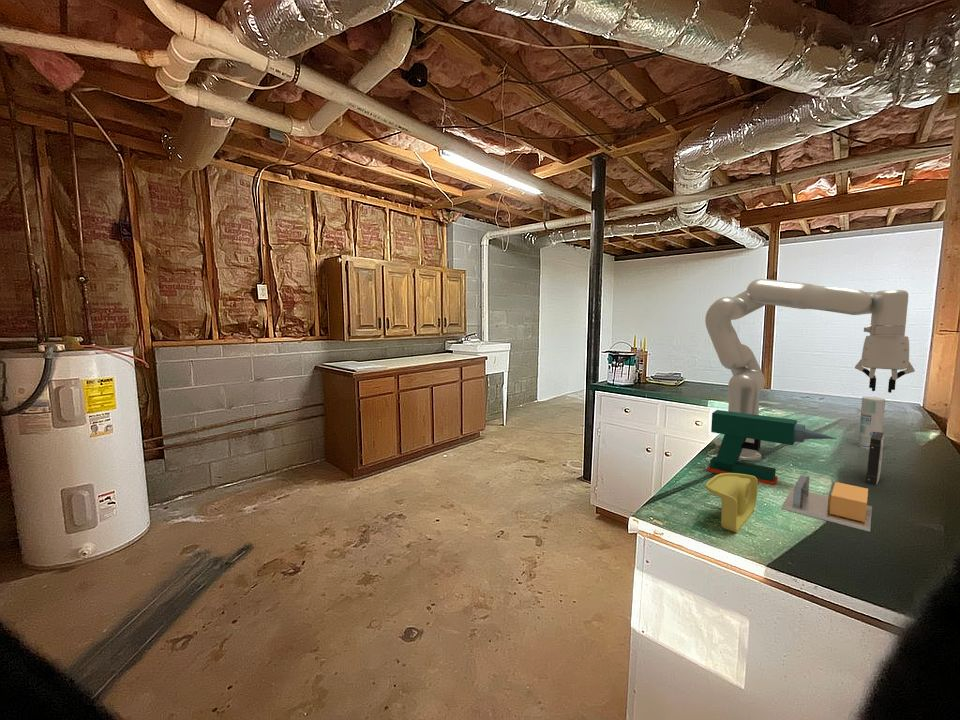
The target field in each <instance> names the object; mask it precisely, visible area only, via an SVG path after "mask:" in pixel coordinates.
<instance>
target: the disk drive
mask: <svg viewBox="0 0 960 720" xmlns="http://www.w3.org/2000/svg"><path fill="white" fill-rule="evenodd" d="M884 437H885V433H884V432H882V433H881V432H873V434H872V436H871V440H870V448H869V450H868V451H869V452H868V458H867V459H868V461H867V470H866V478H865V484H867V485H870V486H871V485H872V486H875V485H876V486H877V485H878V483H879V481H880V478H881V477H880V476H881V470H882V462H883V449H884V444H885V442H884V441H885V438H884Z"/></svg>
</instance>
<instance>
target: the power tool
mask: <svg viewBox="0 0 960 720" xmlns="http://www.w3.org/2000/svg"><path fill="white" fill-rule="evenodd" d="M797 421H798V419H792V418H791V419H790V418H783V417H778V416H777V417H776V416H769V415H761V414H759V415H754V414H746V413H738V412H730V411H728V410H721V409H716V410H715V411H713V412H712V413H711V427H710V428H711V429H710V431H711V432H710V433H715V434H719V435H721V434H722V435H723V438H722V440H721V441H722V443H721V446H719V449H718V451H717V455H716V456H715V455H714V456H713V457H712V458H711V459H709V466H708V467H707V472H711V473H716V474H722V473H739V474H746V475H751V476H755V477H756V478H757V480H758V483H762V484H766V485H770V486H775V485H776V483H777V481H778V480H779V479H778V477H779V476H776V472H777V471H776V470H777V468H775V467H770V466H766V465H761V464H755V463H750V462H744V461H742V460H741V461H740V459H739V457H740V454H741V452H742V449H743V448H745V449H751V450H756V452H758V451H759V450H760V449H761V443H762V442H761V441H764V442H769V443H776V444H783V445H788V446H794V444H795V442H797V443H804V442H805V440H837V439H838V438H836V437H833V436H830V435H827V434H825V433H822V432H817V431H814V430H810V429H807V428H806V425H805V424H801V423H797ZM746 438H750V439H754V443H749V442H745V441H746Z"/></svg>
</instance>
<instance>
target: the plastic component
mask: <svg viewBox="0 0 960 720" xmlns="http://www.w3.org/2000/svg"><path fill="white" fill-rule="evenodd" d="M758 484H759V482H758V480H757V478H756V477H755V476H751V475H746V474H739V473H722V474H720V473H717V474H716V475H714V476H713V477H711V478H710V479H709V480H708V481H706V482H705V489H706V490H707V492H709V493H711V495H715V496H717V497H719V498H720V500H721V515H720V516H721V519H720V525H721V527H722V529H724V530H727V531H729V532H730V531H731V532H734V533H736V534H738V532H739V531H740V530H741V528H742V527H743V526H744V525H745V523H746V522H747V521H748V520H749V518H750V517H751V516H752V515H753V513H754V510H755V508H756V503H757V500H758V499H757V498H758V486H759V485H758Z"/></svg>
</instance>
